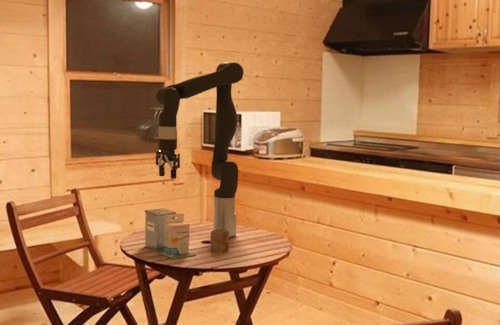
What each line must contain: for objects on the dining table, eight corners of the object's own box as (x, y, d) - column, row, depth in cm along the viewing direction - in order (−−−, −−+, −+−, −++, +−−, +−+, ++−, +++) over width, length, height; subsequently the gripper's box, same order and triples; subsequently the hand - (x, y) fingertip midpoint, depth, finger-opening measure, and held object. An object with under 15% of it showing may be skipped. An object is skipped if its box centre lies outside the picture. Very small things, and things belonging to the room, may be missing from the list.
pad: (178, 248, 230) (178, 247, 230) (195, 255, 221) (195, 254, 221) (156, 252, 223) (156, 251, 223) (173, 259, 214) (173, 258, 214)
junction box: (163, 243, 238) (163, 208, 236) (175, 248, 230) (176, 212, 229) (144, 246, 232) (144, 210, 231) (156, 251, 225) (157, 214, 223)
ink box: (169, 255, 217) (170, 217, 216) (163, 252, 222) (164, 214, 220) (189, 253, 222) (190, 215, 221) (183, 250, 226) (184, 213, 225)
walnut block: (218, 248, 233) (219, 229, 232) (228, 250, 230) (228, 231, 229) (210, 251, 228) (211, 231, 228) (220, 253, 226) (221, 233, 225)
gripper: (185, 138, 231) (185, 178, 233) (165, 136, 242) (165, 174, 244) (169, 139, 226) (169, 180, 228) (150, 136, 237) (150, 176, 239)
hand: (167, 177), depth 236 cm, fingers open, 8 cm apart
